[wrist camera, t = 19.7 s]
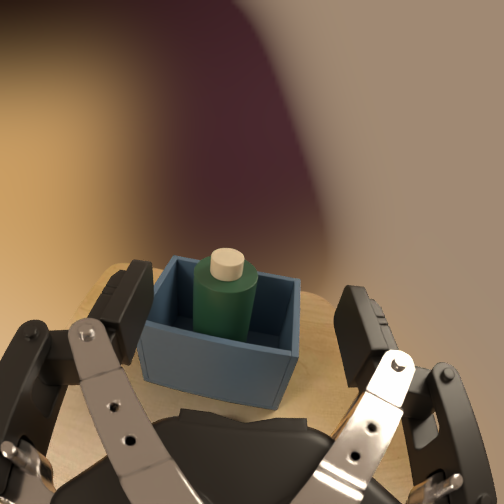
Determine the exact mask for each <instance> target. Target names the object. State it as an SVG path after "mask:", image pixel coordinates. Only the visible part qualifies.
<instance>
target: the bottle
mask: <svg viewBox="0 0 504 504" xmlns="http://www.w3.org/2000/svg"><path fill="white" fill-rule="evenodd" d="M257 281H258V273H257V270H256V269H255V267H254V266H253V265H252V264H251V263H249V262H248V261H246V260H244V256H243V254H242V253H240V252H239V251H237V250H234V249H230V248H221V249H217V250H215V251H214V252H213V253H212V255H211V256H209V257H206V258H204V259H202V260H201V261H199V262H198V263H197V264H196V266H195V268H194V286H193V332H196V333H201V334H205V335H210V336H214V337H219V338H224V339H229V340H234V341H239V342H244V343H246V341H247V335H248V330H249V325H250V319H251V314H252V308H253V303H254V297H255V292H256V286H257Z"/></svg>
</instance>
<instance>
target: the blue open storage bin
mask: <svg viewBox="0 0 504 504" xmlns="http://www.w3.org/2000/svg"><path fill="white" fill-rule="evenodd" d="M199 261H200V260H195V259H190V258H185V257H180V256H175V255H173V257H172V258H171V260H170V262H169V263H168V264H167V266H166V268H165V269H164V271H163V272H162V274H161V275H160V277H159V278H158V280H157V282H156V283H155V285H154V300H153V305H152V307H151V310H150V313H149V315H148V318H147V320H146V323H145V326H144V328H143V331H142V334H141V336H140V339H139V342H138V344H137V351H138V355H139V360H140V364H141V369H142V373H143V377H144V381H148V382H151V383H154V384H158V385H161V386H165V387H168V388H172V389H176V390H179V391H183V392H187V393H191V394H195V395H199V396H204V397H208V398H212V399H217V400H222V401H226V402H231V403H237V404H242V405H247V406H253V407H259V408H265V409H272V410H277V409H278V407H279V404H280V402H281V400H282V397H283V395H284V392H285V390H286V388H287V385H288V383H289V380H290V378H291V376H292V373H293V371H294V368H295V366H296V363H297V361H298V358H299V334H300V279H294V278H290V277H284V276H279V275H274V274H268V273H263V272H257V273H258V281H257V286H256V292H255V297H254V303H253V308H252V314H251V319H250V325H249V330H248V335H247V341H246V343H244V342H239V341H234V340H229V339H224V338H219V337H214V336H210V335H205V334H201V333H196V332H193V286H194V268H195V266H196V264H197V263H198V262H199Z"/></svg>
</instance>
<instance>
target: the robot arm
mask: <svg viewBox="0 0 504 504" xmlns="http://www.w3.org/2000/svg"><path fill="white" fill-rule="evenodd" d="M153 300H154V284H153V270H152V263H151V262H149V261H141V260H132V262H131V264H130V265H129V267H128V269H127V270H126V271H125V270H119V271H118V272H117V273H115V274H114V275H113V276H111V278H110V279H109V281H108V283H107V284H106V287H105V288H104V289H103V291H102V294H100V296H99V298H98V299H97V301H96V303H95V305H94V306H93V308H92V310H91V311H90V313H89V315H88V317H87V318H84V319H80V320H78V321H76V322H75V323H74V324H73V325H72V326H71V327H70V329H69V330H54V331H49V330H48V327H47V325H46V324H45V323H44V322H43V321H40V320H30V321H27V322H25V323H24V324H22V325H21V326H20V327H19V329H18V330H17V332H16V334H15V336H14V337H13V339H12V341H11V342H10V344H9V346H8V348H7V350H6V351H5V353H4V355H3V357H2V359H1V361H0V503H2V504H402V503H401V502H399V501H398V500H397V499H396V498H395V497H394V496H393V495H392V494H390V493H389V492H388V491H387V490H386V489H385V488H384V487H383V486H382V485H381V484H379V483H378V482H377V481H376V480H375V479H374V478H373V477H372V476H373V474H374V473H375V471H376V469H377V467H378V465H379V463H380V461H381V459H382V457H383V456H384V454H385V452H386V450H387V448H388V445H389V443H390V441H391V439H392V437H393V435H394V433H395V431H396V428H397V426H398V424H399V422H400V419H401V420H402V425H403V430H404V434H405V439H406V445H407V450H408V455H409V461H410V467H411V473H412V479H413V486H414V487H413V488H412V490H411V491H410V493H409V496H408V500H407V501H406V504H497V497H496V492H495V487H494V482H493V478H492V474H491V469H490V465H489V462H488V458H487V454H486V450H485V447H484V443H483V440H482V437H481V433H480V430H479V427H478V424H477V421H476V418H475V415H474V412H473V409H472V407H471V404H470V401H469V398H468V396H467V393H466V390H465V388H464V385H463V383H462V380H461V377H460V375H459V373H458V371H457V370H456V369H455V368H454V367H453V366H452V365H450V364H448V363H444V362H440V363H437V364H436V365H435V366H434V367H433V369H432V370H429V369H425V368H421V367H417V366H415V364H414V361H413V360H412V358H411V357H410V356H409V355H408V354H406V353H405V352H403V351H400V350H398V347H397V344H396V342H395V340H394V337H393V334H392V332H391V330H390V327H389V326H388V323H387V320H386V318H385V315H384V313H383V311H382V308H381V307H380V306H379V305H378V304H377V303H376V301H375V300H373V299H369V296H368V294H367V292H366V289H365V288H364V287H360V286H351V285H347V286H346V287H345V288H344V291H343V293H342V296H341V299H340V301H339V304H338V306H337V309H336V311H335V314H334V328H335V332H336V336H337V341H338V345H339V349H340V353H341V357H342V362H343V366H344V371H345V375H346V379H347V384H348V387H358V389H359V393H358V394H357V396H356V397H355V399H354V401H353V402H352V404H351V405H350V407H349V409H348V410H347V412H346V413H345V415H344V417H343V418H342V420H341V421H340V423H339V424H338V426H337V427H336V429H335V430H334V431H333V433H332V434H331V435H330V436H328V435H327V434H325V433H323V432H321V431H319V430H316V429H314V428H311V427H307V418H273V419H267V420H261V421H255V422H249V423H242V422H239V421H236V420H232V419H229V418H226V417H223V416H220V415H217V414H214V413H211V412H203V411H196V410H189V409H182V408H181V409H180V415H179V416H175V417H169V418H164V419H161V420H158V421H156V422H153V423H151V422H150V420H149V419H148V417H147V415H146V413H145V411H144V409H143V407H142V405H141V404H140V402H139V400H138V398H137V396H136V394H135V392H134V390H133V388H132V386H131V384H130V382H129V379H128V377H127V375H126V373H125V371H124V369H123V367H121V366H120V365H121V364H125V365H130V364H131V361H132V358H133V356H134V353H135V350H136V347H137V344H138V342H139V339H140V336H141V334H142V331H143V328H144V326H145V323H146V320H147V318H148V315H149V313H150V310H151V307H152V305H153ZM68 385H80V386H81V390H82V393H83V395H84V398H85V401H86V404H87V407H88V409H89V412H90V415H91V417H92V420H93V422H94V425H95V427H96V430H97V432H98V435H99V437H100V439H101V442H102V444H103V446H104V448H105V451H106V453H107V455H106V456H105V457H104V458H102V459H101V460H99V461H98V462H96V463H95V464H94V465H92V466H91V467H89V468H88V469H86V470H85V471H83V472H82V473H80V474H79V475H77V476H76V477H74V478H73V479H71V480H70V481H68V482H67V483H65V484H64V485H62V486H61V487H60V488H58V489H57V491H56V489H55V487H54V484H53V468H52V465H51V463H50V462H49V460H48V459H47V458H46V453H47V450H48V446H49V443H50V439H51V436H52V432H53V429H54V426H55V423H56V420H57V416H58V413H59V410H60V407H61V404H62V402H63V399H64V396H65V393H66V390H67V387H68ZM434 412H436V415H437V419H438V422H439V433H438V429H437V426H436V422H435V418H434V415H433V413H434Z"/></svg>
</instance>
